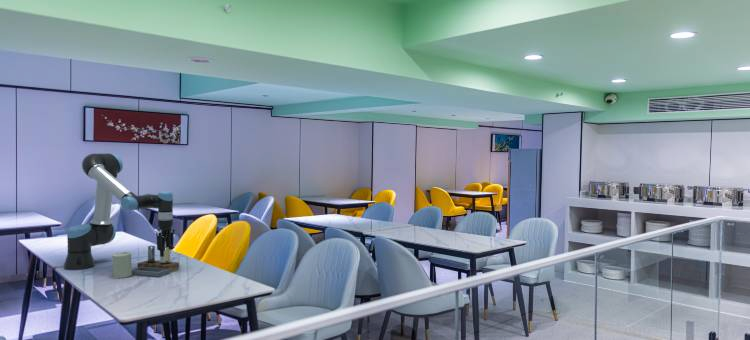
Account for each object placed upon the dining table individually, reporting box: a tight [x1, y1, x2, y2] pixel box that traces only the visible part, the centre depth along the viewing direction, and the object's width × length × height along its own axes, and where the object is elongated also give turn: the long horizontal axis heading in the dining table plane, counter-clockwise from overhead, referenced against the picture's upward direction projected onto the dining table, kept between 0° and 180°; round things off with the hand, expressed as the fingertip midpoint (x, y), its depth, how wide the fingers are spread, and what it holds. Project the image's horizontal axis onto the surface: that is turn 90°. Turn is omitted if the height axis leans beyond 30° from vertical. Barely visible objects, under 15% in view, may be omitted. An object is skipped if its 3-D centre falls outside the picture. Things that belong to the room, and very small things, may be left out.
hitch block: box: [137, 259, 180, 274], centre depth 293 cm, size 20×9×4 cm, turn 76°
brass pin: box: [162, 246, 170, 265], centre depth 292 cm, size 4×4×13 cm
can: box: [111, 251, 133, 279], centre depth 278 cm, size 9×9×12 cm
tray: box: [131, 266, 170, 278], centre depth 283 cm, size 18×9×2 cm, turn 76°
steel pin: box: [147, 245, 156, 263], centre depth 294 cm, size 4×4×13 cm
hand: (165, 261), depth 292 cm, fingers closed on brass pin, 4 cm apart
